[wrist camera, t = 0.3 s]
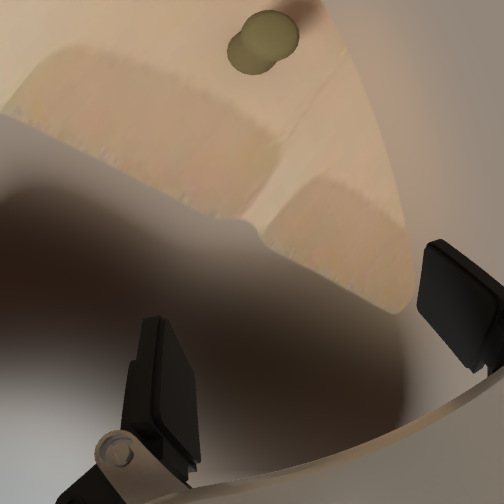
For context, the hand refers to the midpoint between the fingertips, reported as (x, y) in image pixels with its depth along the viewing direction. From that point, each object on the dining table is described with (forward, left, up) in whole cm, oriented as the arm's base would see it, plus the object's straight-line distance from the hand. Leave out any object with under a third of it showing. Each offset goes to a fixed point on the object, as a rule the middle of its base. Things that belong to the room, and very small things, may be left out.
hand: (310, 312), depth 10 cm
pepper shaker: (-12, -6, -30) cm, 33 cm away
